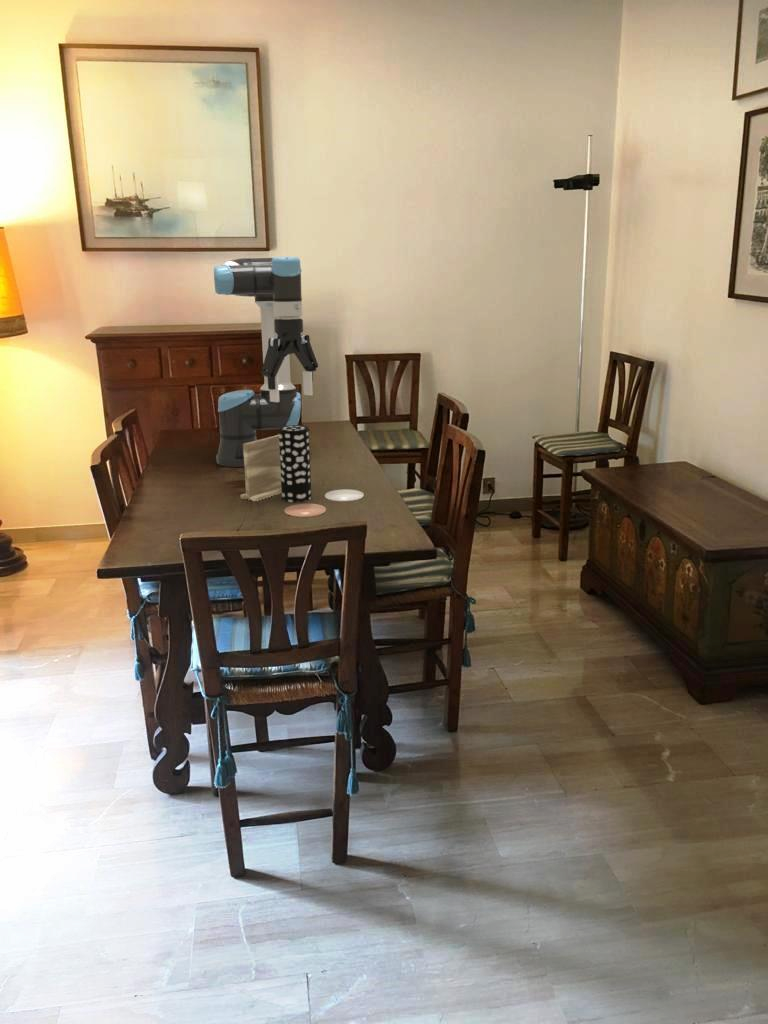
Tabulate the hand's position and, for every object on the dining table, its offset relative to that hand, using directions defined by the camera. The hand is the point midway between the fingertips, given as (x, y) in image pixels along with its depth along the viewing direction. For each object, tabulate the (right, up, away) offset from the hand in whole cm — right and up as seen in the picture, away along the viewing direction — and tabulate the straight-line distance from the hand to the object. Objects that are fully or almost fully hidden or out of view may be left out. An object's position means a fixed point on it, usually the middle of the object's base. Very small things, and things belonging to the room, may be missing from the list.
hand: (291, 398), depth 221 cm
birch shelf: (-8, -25, +14) cm, 30 cm away
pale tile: (+14, -26, +10) cm, 31 cm away
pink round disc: (+4, -31, -3) cm, 31 cm away
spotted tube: (0, -27, +9) cm, 29 cm away
